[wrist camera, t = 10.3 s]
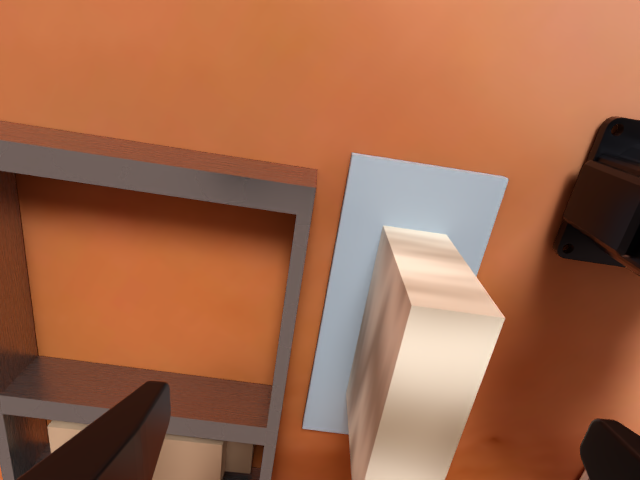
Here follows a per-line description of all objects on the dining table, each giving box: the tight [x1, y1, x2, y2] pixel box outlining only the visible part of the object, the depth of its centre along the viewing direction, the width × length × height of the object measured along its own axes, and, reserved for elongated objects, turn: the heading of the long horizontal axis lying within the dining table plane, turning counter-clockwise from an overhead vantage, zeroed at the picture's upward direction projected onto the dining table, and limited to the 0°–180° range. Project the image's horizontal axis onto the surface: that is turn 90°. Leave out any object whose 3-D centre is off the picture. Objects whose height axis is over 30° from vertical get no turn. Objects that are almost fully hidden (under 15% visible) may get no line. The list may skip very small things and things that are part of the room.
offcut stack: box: [47, 420, 255, 480], centre depth 24 cm, size 11×4×3 cm, turn 82°
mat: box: [302, 153, 509, 434], centre depth 22 cm, size 7×16×1 cm, turn 171°
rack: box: [0, 121, 317, 480], centre depth 21 cm, size 14×20×3 cm
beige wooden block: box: [346, 225, 505, 480], centre depth 18 cm, size 10×3×7 cm, turn 172°
